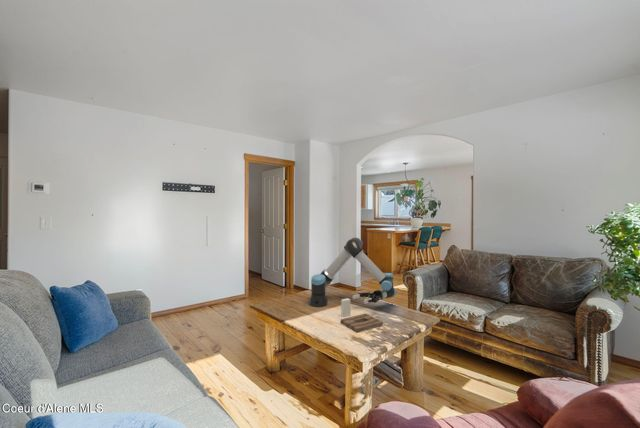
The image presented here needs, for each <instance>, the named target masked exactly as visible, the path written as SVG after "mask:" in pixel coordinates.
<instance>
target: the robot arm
mask: <svg viewBox="0 0 640 428" xmlns="http://www.w3.org/2000/svg"><path fill="white" fill-rule="evenodd" d="M363 246H364V245H363V241H362V239H361V238H359V237H352V238H351V239H350V238H349V239H348V240H347V241H346V243H345V244H344V246H343V250H342V251H341V252H340V253H339V255H338V256H337V257H336V258H335V259H333V260H332V262H331V264H330V265H329V266H328V267H327V268H326V269H323V270H322V271H321V273H319V274H318V273H317V274H314V275H312V276H311V281H310V283H311V289H310V290H311V293H310V294H311V295H310V299H309V301H308V304H309V306H310V307H315V308H322V307H326V306H328V304H329V302H328V298H327V294H326V288H327V287H328V286H330V284H331V283H332V281H334V279H335V276H336V275H337V273H338V272H339V271H340V270H341V269H342V268H343V267H344V265H346V263H347V262H348V261H349V260H350V259H351V258H353V259H356V261H358V263H360V265H361V266H362V267H364V268H365V270H366V271H367V272H368V273H369V275H371V276H372V277H373V278H374V280H375V281H377V283H378V284H379V285H380V287H381V288H380V289H376V290H373V292H370V291H368V292H358V293H357V294H353V295H352V300H355V299H360V298H365V299H364V300H363V304H369V303H374V304H376V303H377V302H379V301H381V300H385V299H389V298H392V297H395V296H396V295H397V290H396V288H395V287H394V274H393V273H391V272H385V273H384V272H383V271H382V270H381V269H380V268H379V267H378V266H377V265H376V264H375V263H374V262H373V261H372V260H371V259H370V257H368V256H367V254H366V253H365V252H364V249H363Z"/></svg>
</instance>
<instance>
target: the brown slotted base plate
mask: <svg viewBox="0 0 640 428" xmlns="http://www.w3.org/2000/svg"><path fill="white" fill-rule="evenodd" d="M340 324H341V325H343V326H345V327H347V328H348V329H349V330H351V331H353V332H355V333H360V332H364V331H368V330H371V329H376V328H377V327H381V326H383V321H382V320H380V319H378V318H377V317H374V316H372V315H370V314H368V313H366V312H365V313H364V312H363V313H361V314H357V315H352V316H347V317H343V318H341V319H340Z"/></svg>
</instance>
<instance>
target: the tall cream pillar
mask: <svg viewBox="0 0 640 428" xmlns="http://www.w3.org/2000/svg"><path fill="white" fill-rule="evenodd" d="M340 303H341V307H340V308H341V310H340V313H341V317H343V318H347V317H351V299H350V298H347V297H346V298H342V299H341V300H340Z"/></svg>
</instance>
